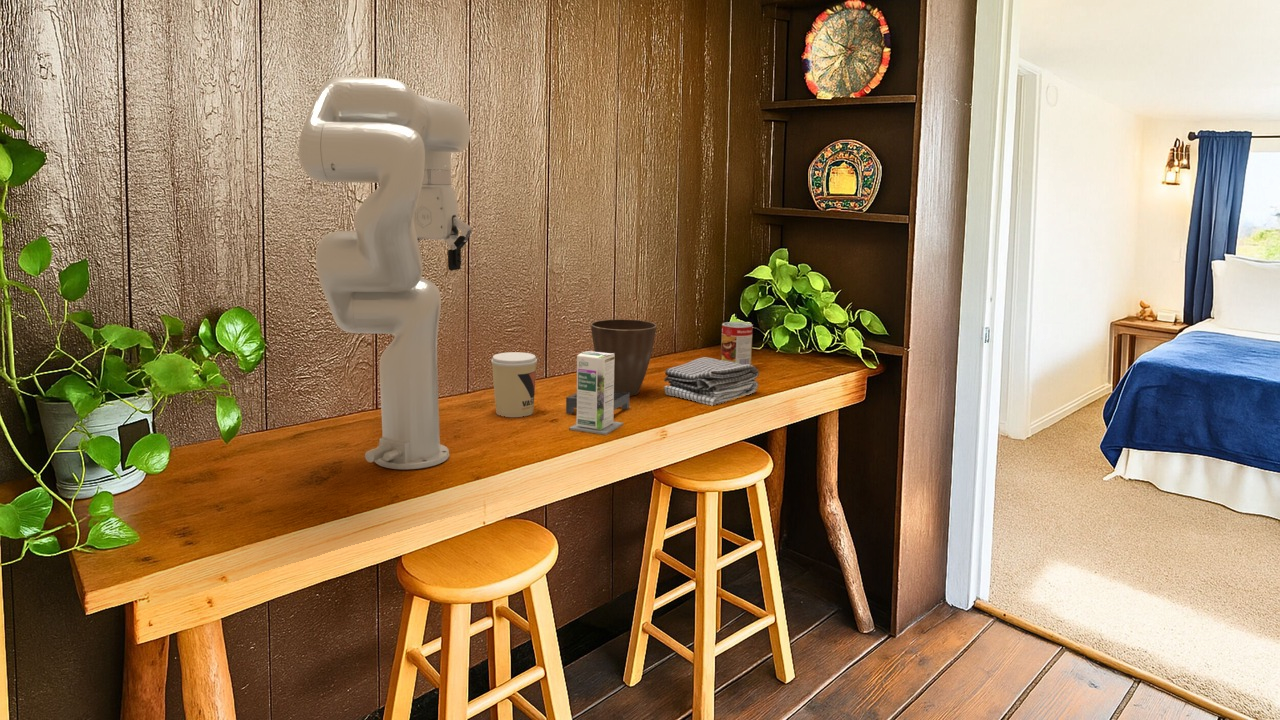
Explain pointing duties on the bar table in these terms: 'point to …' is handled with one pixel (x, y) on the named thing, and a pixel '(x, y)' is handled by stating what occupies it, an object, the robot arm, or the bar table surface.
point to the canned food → (736, 342)
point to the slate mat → (603, 431)
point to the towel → (711, 380)
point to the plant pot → (626, 349)
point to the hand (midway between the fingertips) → (434, 268)
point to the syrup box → (595, 390)
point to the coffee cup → (514, 383)
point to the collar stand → (619, 400)
